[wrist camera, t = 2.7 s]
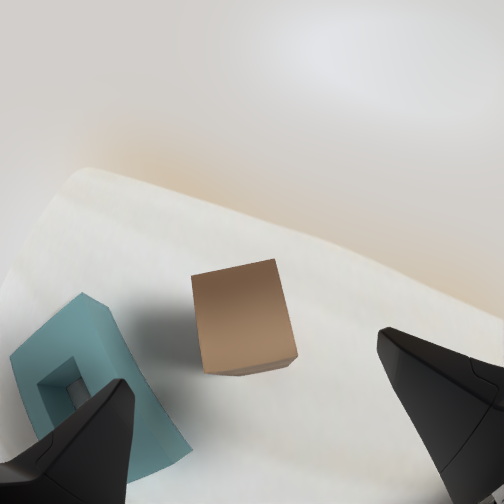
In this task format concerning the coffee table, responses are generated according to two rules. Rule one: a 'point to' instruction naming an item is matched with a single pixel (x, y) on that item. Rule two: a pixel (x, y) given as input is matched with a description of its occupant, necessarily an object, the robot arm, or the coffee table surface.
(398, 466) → the coffee table surface
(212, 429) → the coffee table surface
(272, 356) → the square peg
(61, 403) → the teal square hole block
